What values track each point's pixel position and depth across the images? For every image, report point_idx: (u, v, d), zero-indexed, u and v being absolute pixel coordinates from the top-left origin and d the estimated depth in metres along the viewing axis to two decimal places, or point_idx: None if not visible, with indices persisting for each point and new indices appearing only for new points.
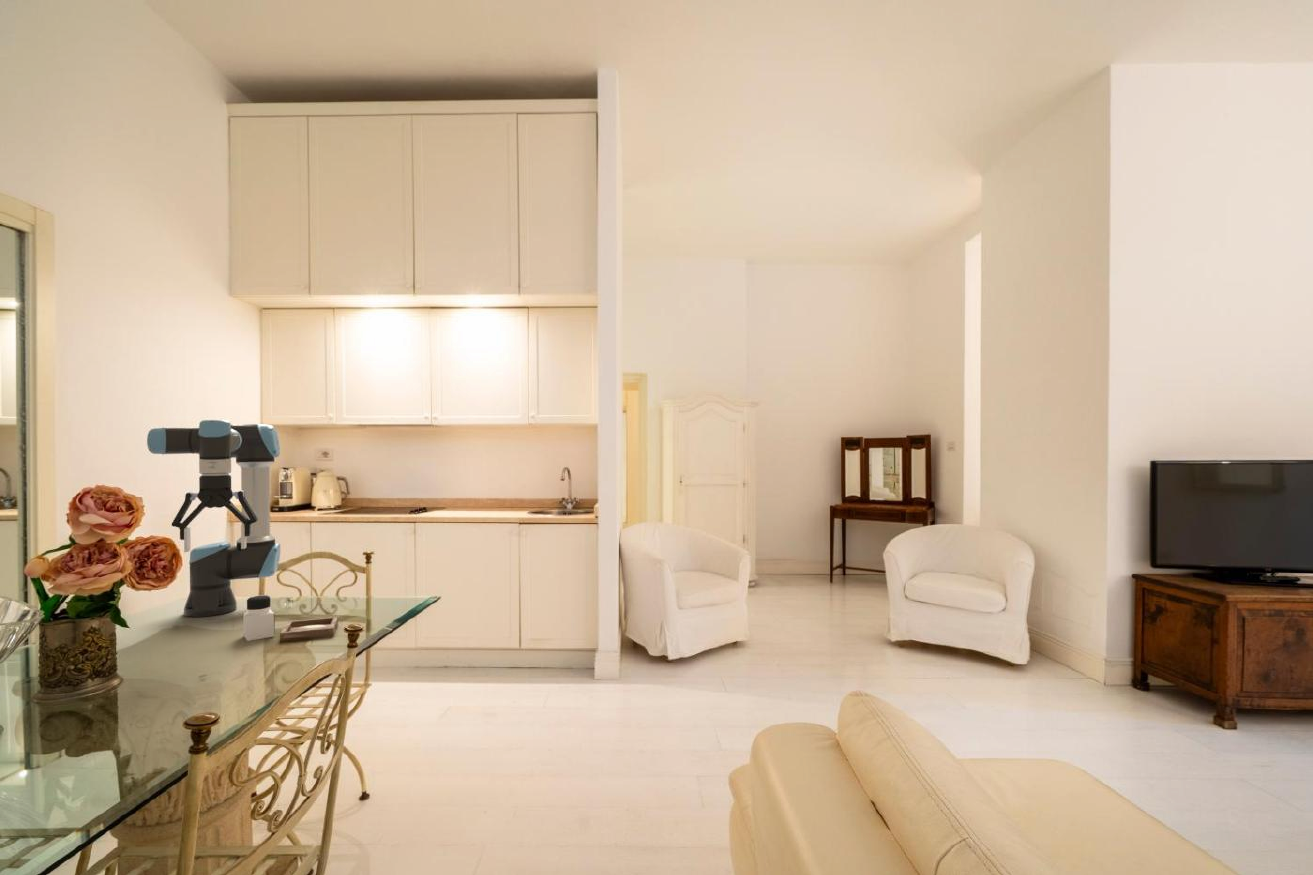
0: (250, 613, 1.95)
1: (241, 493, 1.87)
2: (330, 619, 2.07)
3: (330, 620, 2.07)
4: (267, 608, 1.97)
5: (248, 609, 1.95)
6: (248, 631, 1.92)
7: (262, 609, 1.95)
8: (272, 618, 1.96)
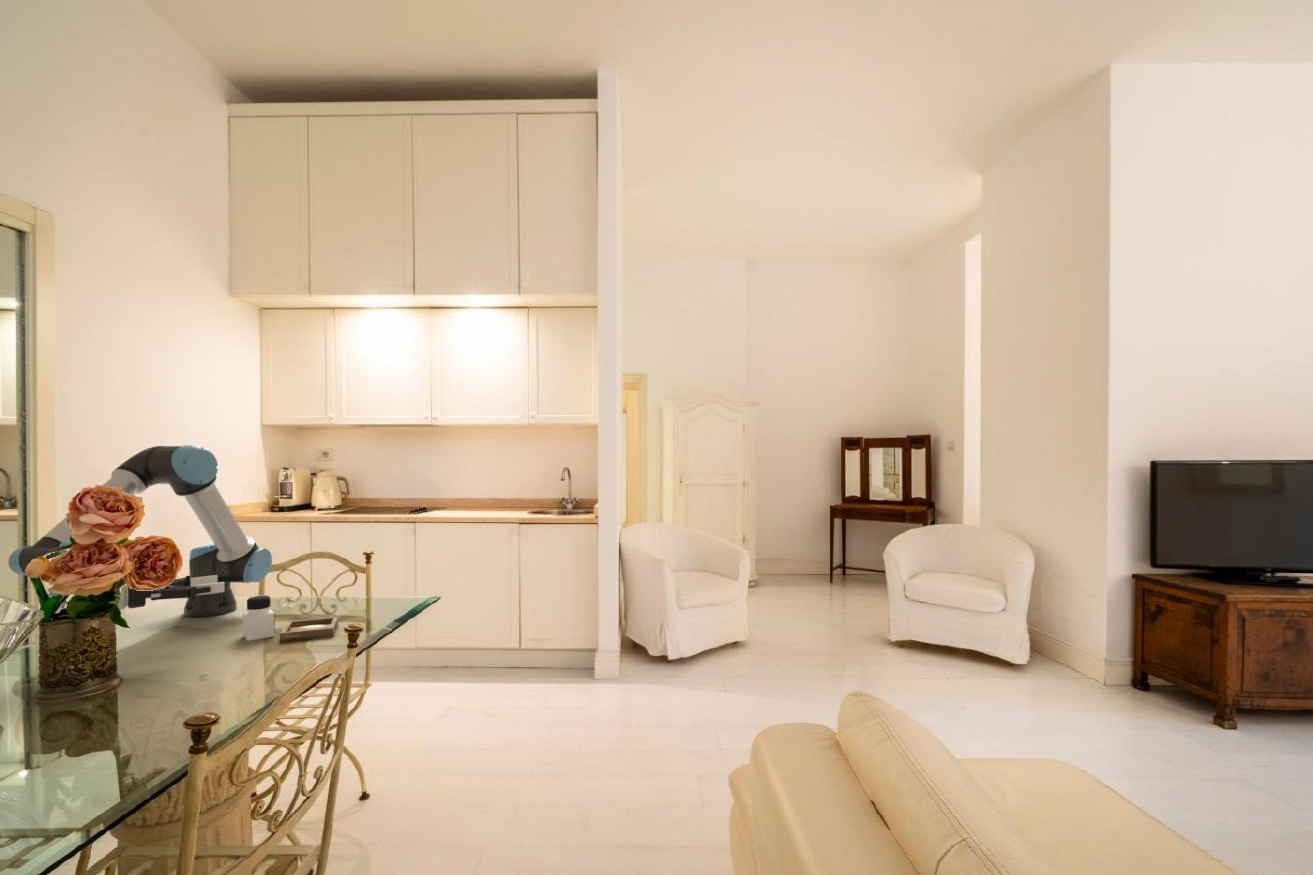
0: (250, 613, 1.95)
1: None
2: (330, 619, 2.07)
3: (330, 620, 2.07)
4: (267, 608, 1.97)
5: (248, 609, 1.95)
6: (248, 631, 1.92)
7: (262, 609, 1.95)
8: (272, 618, 1.96)
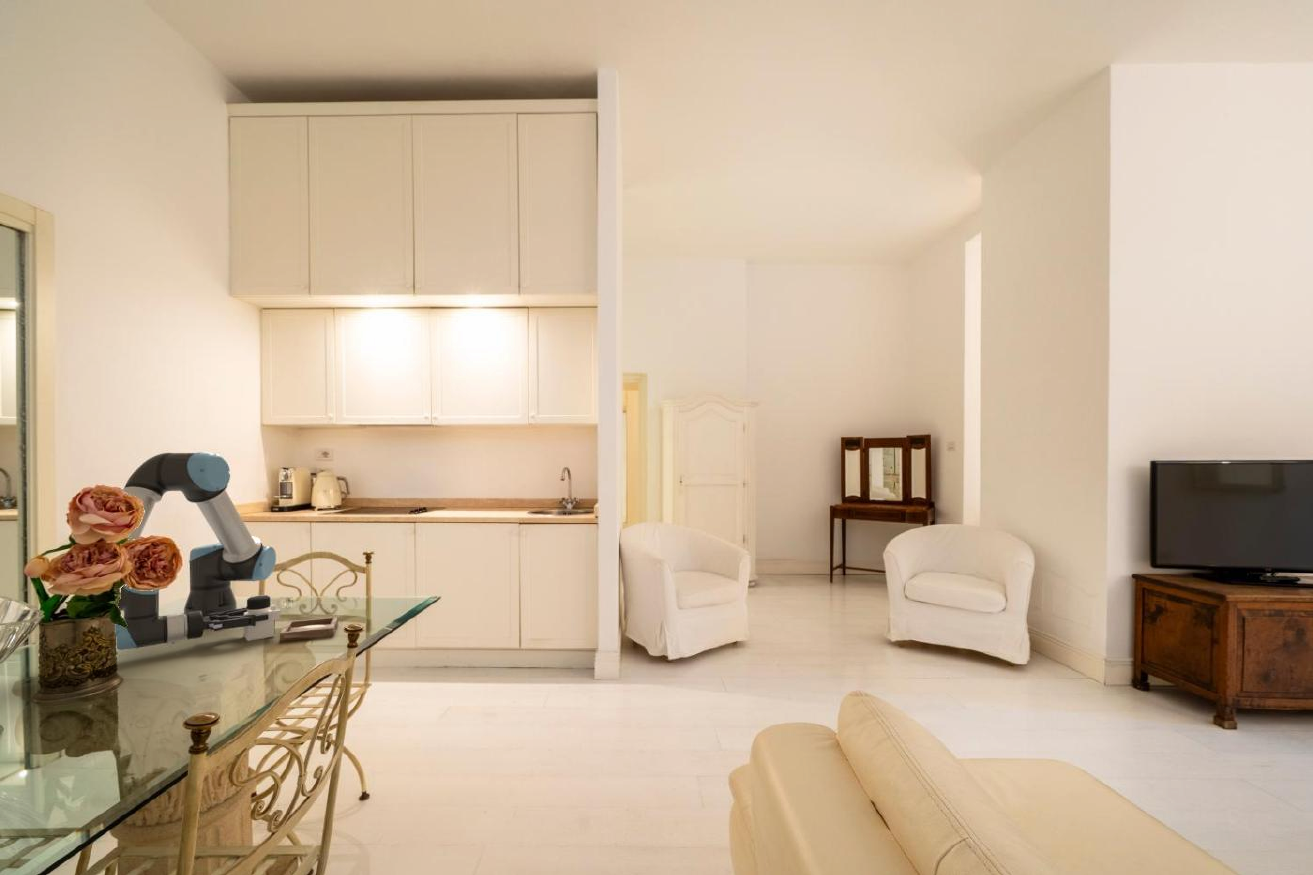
0: (250, 613, 1.95)
1: (216, 630, 1.85)
2: (330, 619, 2.07)
3: (330, 620, 2.07)
4: (267, 608, 1.96)
5: (248, 609, 1.95)
6: (248, 631, 1.92)
7: (262, 609, 1.95)
8: None
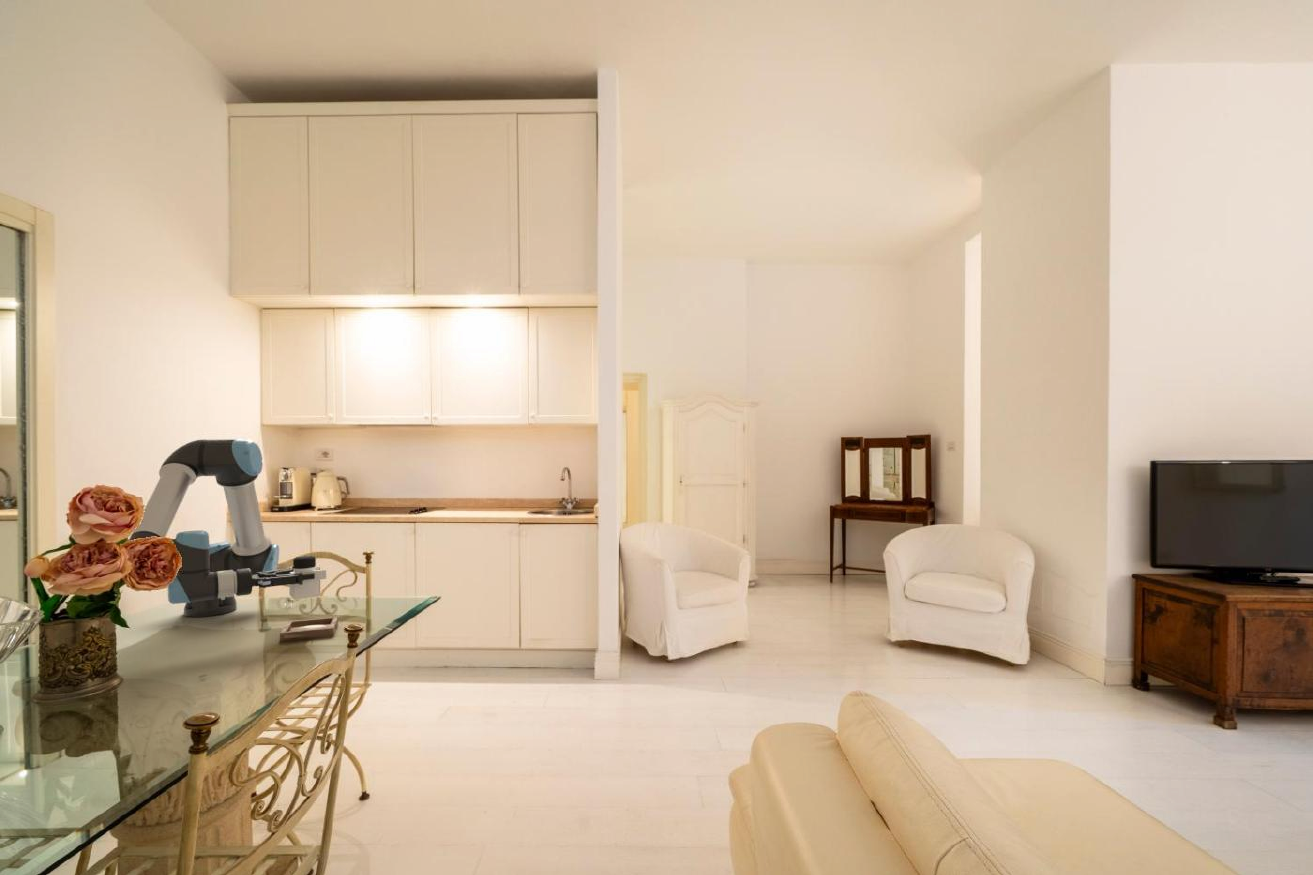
0: (296, 572, 1.97)
1: (265, 587, 1.87)
2: (330, 619, 2.07)
3: (330, 620, 2.07)
4: (313, 568, 1.99)
5: (294, 568, 1.97)
6: (295, 589, 1.94)
7: (308, 568, 1.97)
8: None
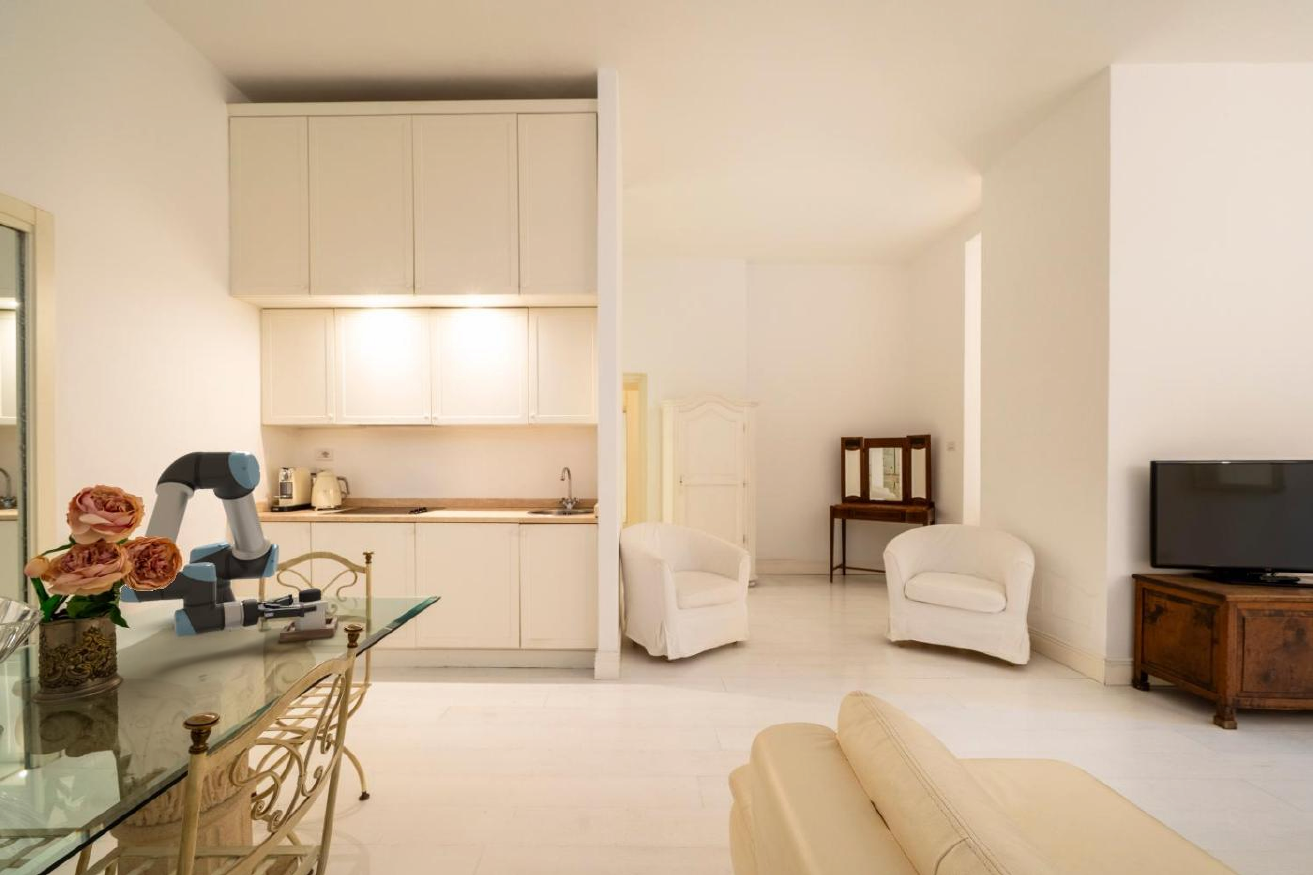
0: None
1: (267, 619, 1.87)
2: (330, 619, 2.07)
3: (330, 620, 2.07)
4: (318, 601, 2.00)
5: (300, 602, 1.98)
6: (301, 623, 1.95)
7: (314, 602, 1.98)
8: (323, 611, 1.99)
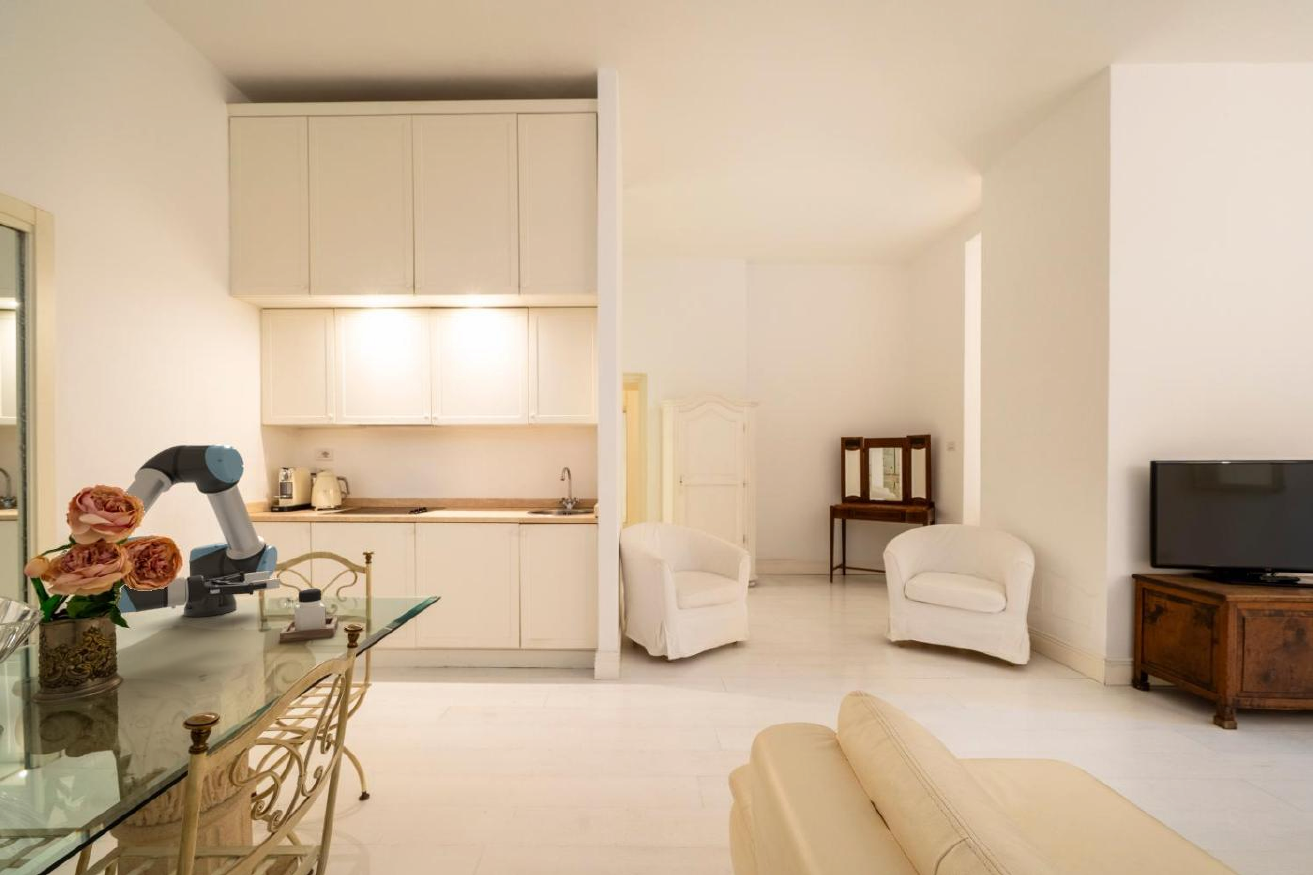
0: (302, 606, 1.98)
1: (213, 596, 1.79)
2: (330, 619, 2.07)
3: (330, 620, 2.07)
4: (318, 601, 2.00)
5: (300, 602, 1.98)
6: (301, 623, 1.95)
7: (314, 602, 1.98)
8: (323, 611, 1.99)
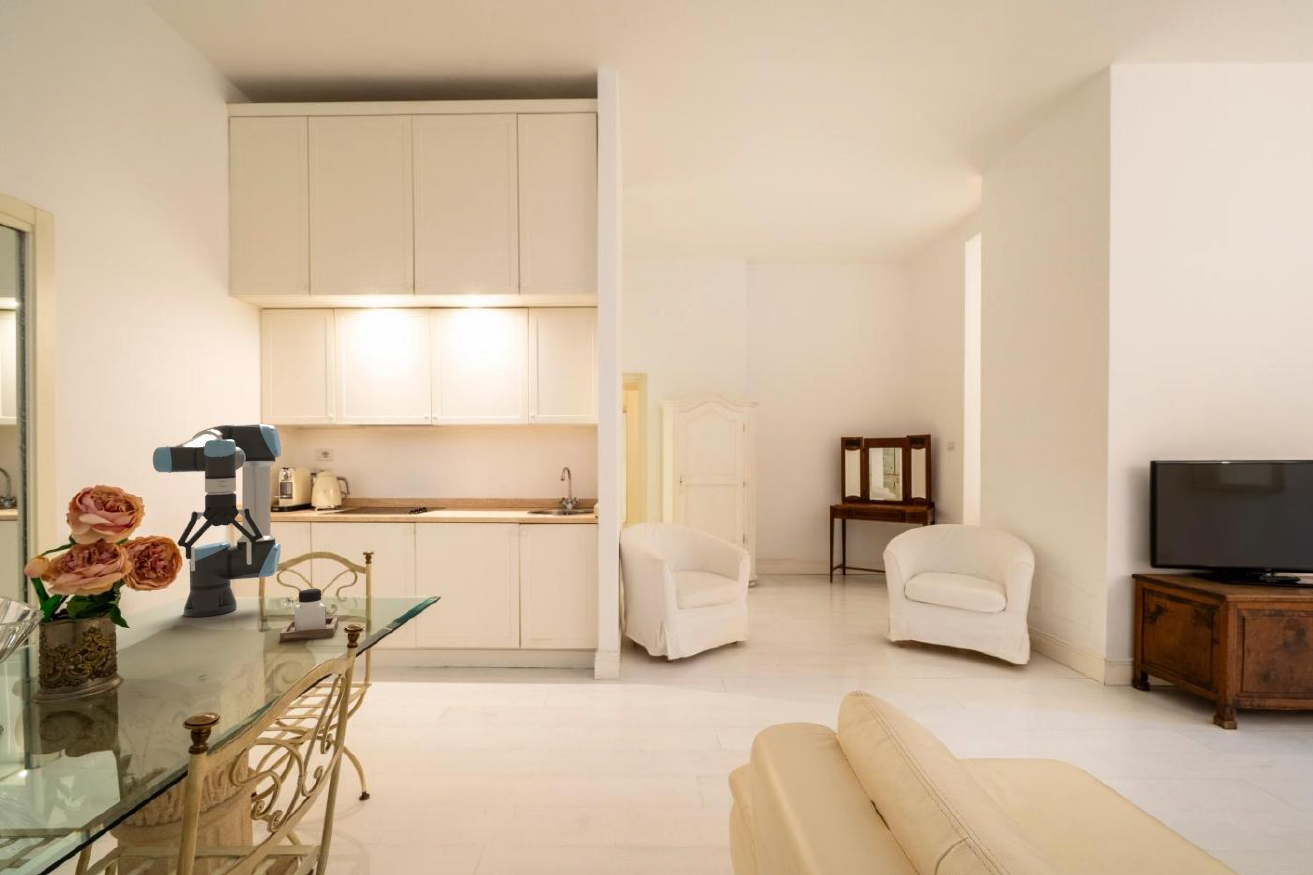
0: (302, 606, 1.98)
1: (248, 510, 1.92)
2: (330, 619, 2.07)
3: (330, 620, 2.07)
4: (318, 601, 2.00)
5: (300, 602, 1.98)
6: (301, 623, 1.95)
7: (314, 602, 1.98)
8: (323, 611, 1.99)
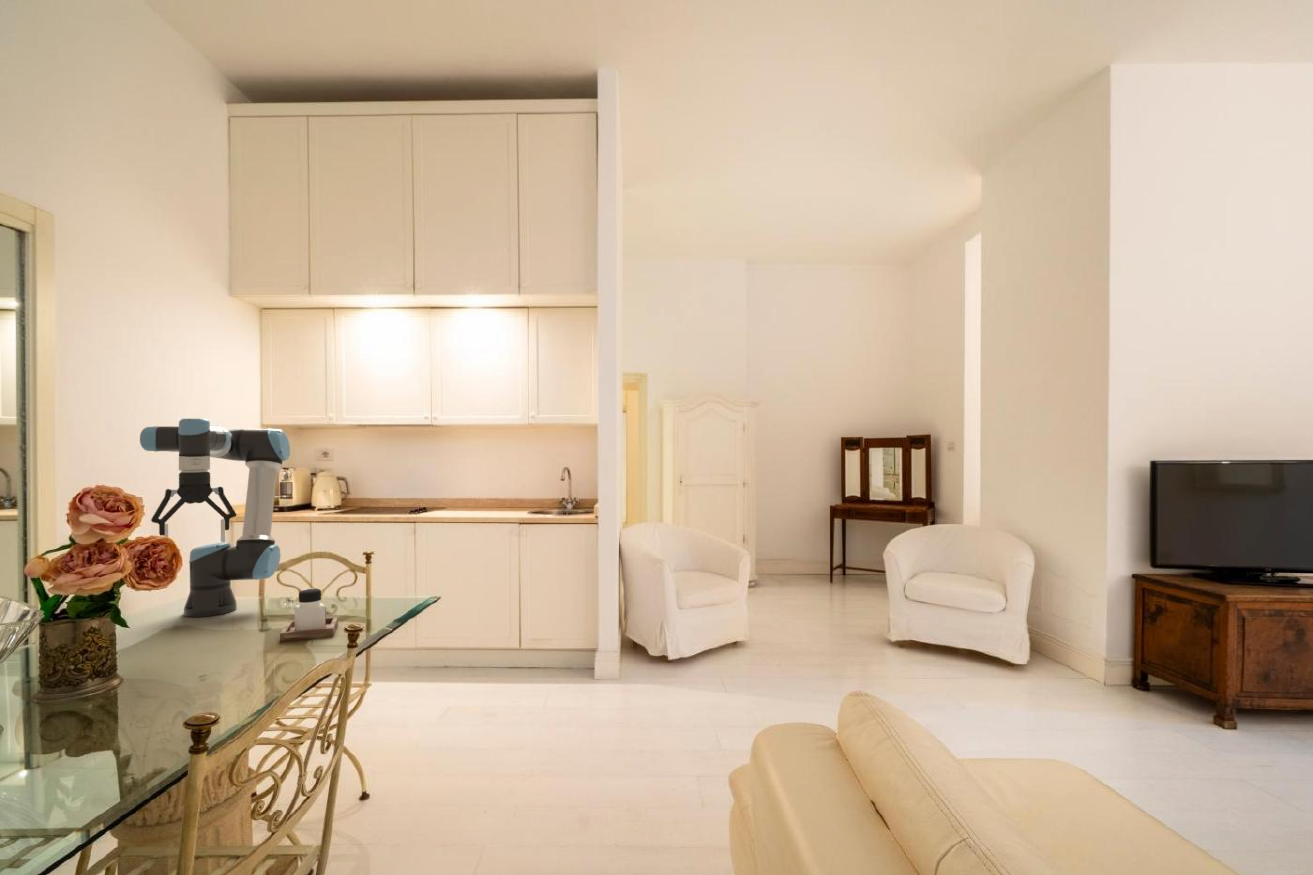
0: (302, 606, 1.98)
1: (222, 489, 1.95)
2: (330, 619, 2.07)
3: (330, 620, 2.07)
4: (318, 601, 2.00)
5: (300, 602, 1.98)
6: (301, 623, 1.95)
7: (314, 602, 1.98)
8: (323, 611, 1.99)
